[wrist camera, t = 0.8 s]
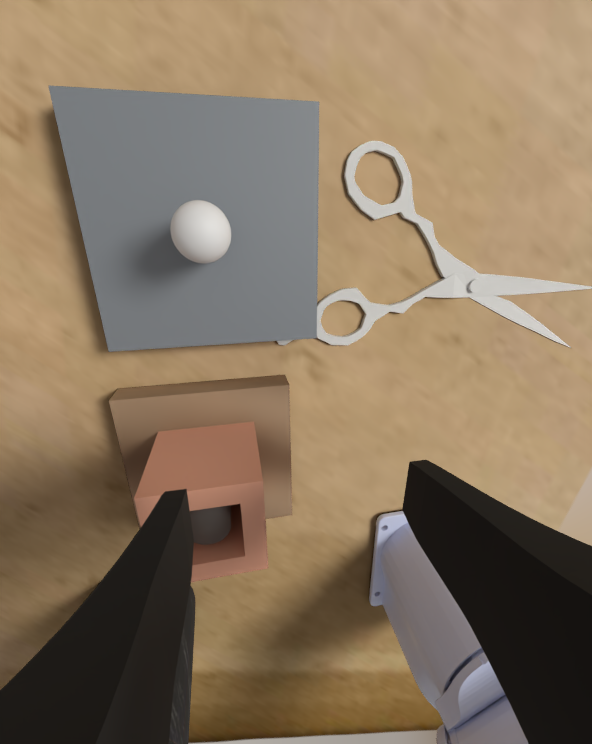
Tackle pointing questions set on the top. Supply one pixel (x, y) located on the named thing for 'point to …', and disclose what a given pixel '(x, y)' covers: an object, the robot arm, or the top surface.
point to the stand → (201, 409)
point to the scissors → (454, 272)
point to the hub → (195, 214)
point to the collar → (212, 491)
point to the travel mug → (183, 679)
